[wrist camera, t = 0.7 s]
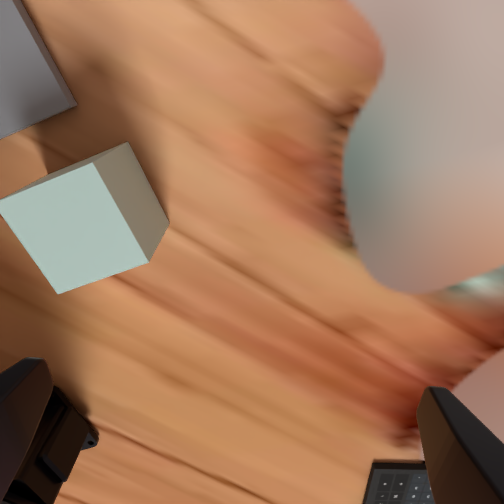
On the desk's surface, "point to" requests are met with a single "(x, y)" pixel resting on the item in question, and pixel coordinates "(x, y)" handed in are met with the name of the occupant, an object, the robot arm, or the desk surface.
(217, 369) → the desk surface
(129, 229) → the cube
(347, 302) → the desk surface
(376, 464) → the calculator
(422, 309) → the desk surface
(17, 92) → the rubber mat
